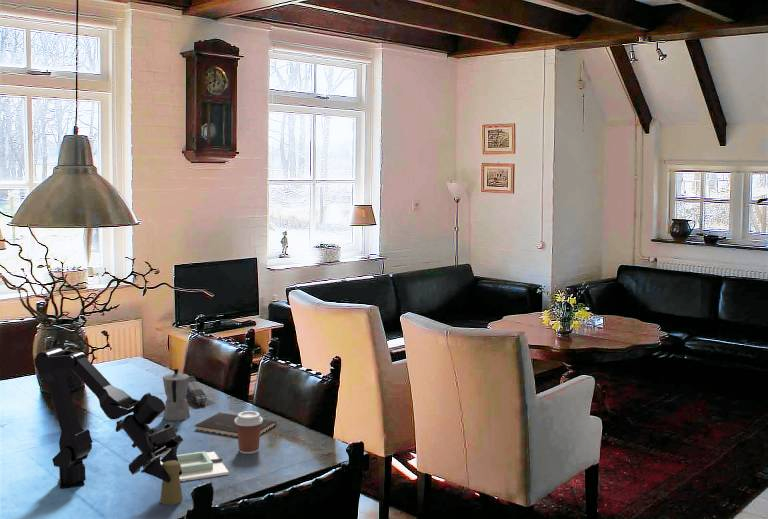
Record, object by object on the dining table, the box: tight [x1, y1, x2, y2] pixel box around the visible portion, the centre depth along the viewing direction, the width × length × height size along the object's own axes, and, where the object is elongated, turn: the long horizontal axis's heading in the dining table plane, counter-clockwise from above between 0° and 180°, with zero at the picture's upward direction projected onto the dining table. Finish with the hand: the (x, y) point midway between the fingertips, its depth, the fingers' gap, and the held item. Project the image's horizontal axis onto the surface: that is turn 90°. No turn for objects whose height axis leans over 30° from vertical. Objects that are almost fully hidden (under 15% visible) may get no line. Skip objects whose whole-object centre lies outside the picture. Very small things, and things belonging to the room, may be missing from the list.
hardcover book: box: [194, 412, 277, 437], centre depth 283 cm, size 16×23×2 cm
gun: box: [187, 375, 208, 406], centre depth 315 cm, size 4×20×10 cm, turn 29°
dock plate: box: [160, 450, 230, 482], centre depth 246 cm, size 18×18×3 cm
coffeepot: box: [162, 368, 191, 422], centre depth 291 cm, size 15×9×18 cm, turn 9°
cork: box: [159, 460, 184, 506], centre depth 222 cm, size 6×6×11 cm
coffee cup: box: [234, 410, 264, 455], centre depth 261 cm, size 9×9×12 cm
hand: (175, 478), depth 222 cm, fingers closed on cork, 5 cm apart
